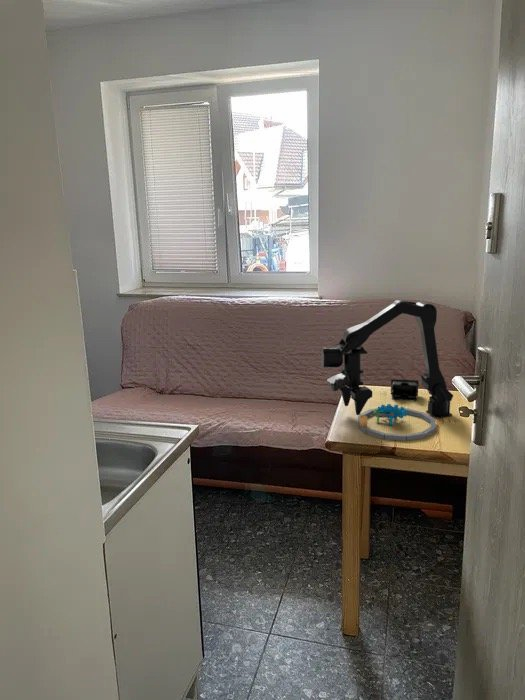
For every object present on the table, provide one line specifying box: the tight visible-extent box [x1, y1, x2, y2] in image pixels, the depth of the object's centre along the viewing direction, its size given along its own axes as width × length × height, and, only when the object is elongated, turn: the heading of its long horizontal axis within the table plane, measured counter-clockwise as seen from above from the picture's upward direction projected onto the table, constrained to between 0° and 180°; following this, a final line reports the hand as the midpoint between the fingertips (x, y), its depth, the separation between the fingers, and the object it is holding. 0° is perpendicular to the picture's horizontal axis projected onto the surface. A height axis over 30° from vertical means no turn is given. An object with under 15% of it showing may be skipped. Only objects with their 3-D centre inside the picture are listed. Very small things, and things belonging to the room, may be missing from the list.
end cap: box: [390, 378, 420, 402], centre depth 204 cm, size 10×7×7 cm
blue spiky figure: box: [373, 403, 408, 426], centre depth 180 cm, size 11×6×10 cm
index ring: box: [356, 407, 437, 442], centre depth 178 cm, size 26×25×4 cm
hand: (352, 410), depth 185 cm, fingers open, 9 cm apart
